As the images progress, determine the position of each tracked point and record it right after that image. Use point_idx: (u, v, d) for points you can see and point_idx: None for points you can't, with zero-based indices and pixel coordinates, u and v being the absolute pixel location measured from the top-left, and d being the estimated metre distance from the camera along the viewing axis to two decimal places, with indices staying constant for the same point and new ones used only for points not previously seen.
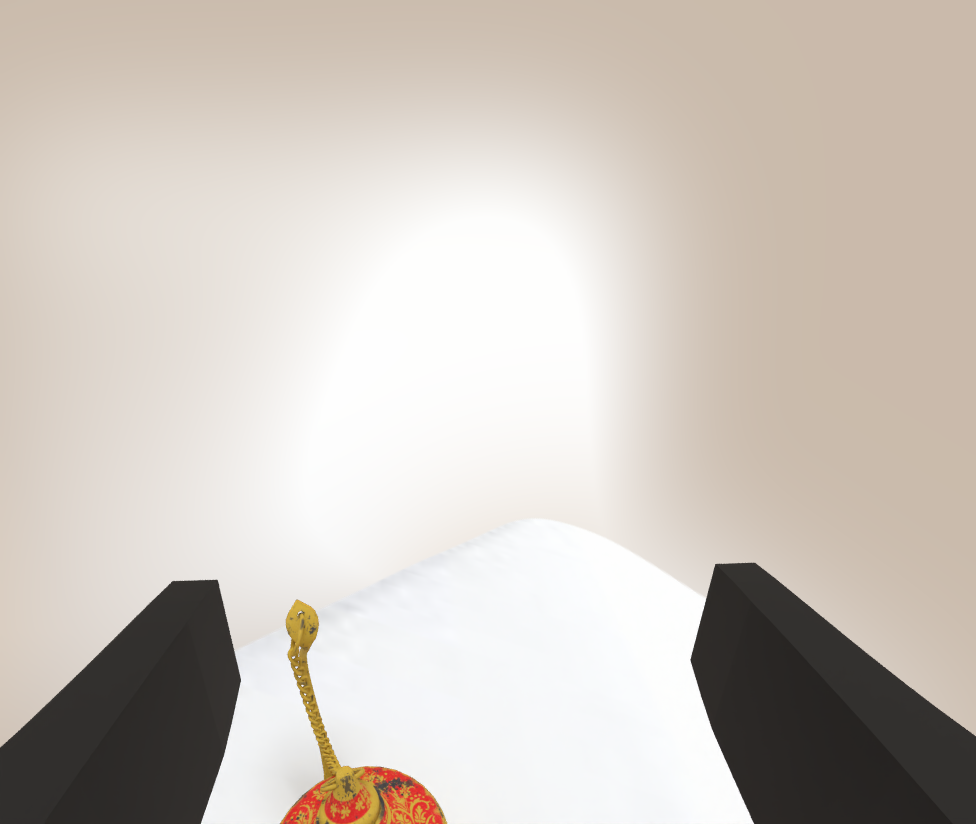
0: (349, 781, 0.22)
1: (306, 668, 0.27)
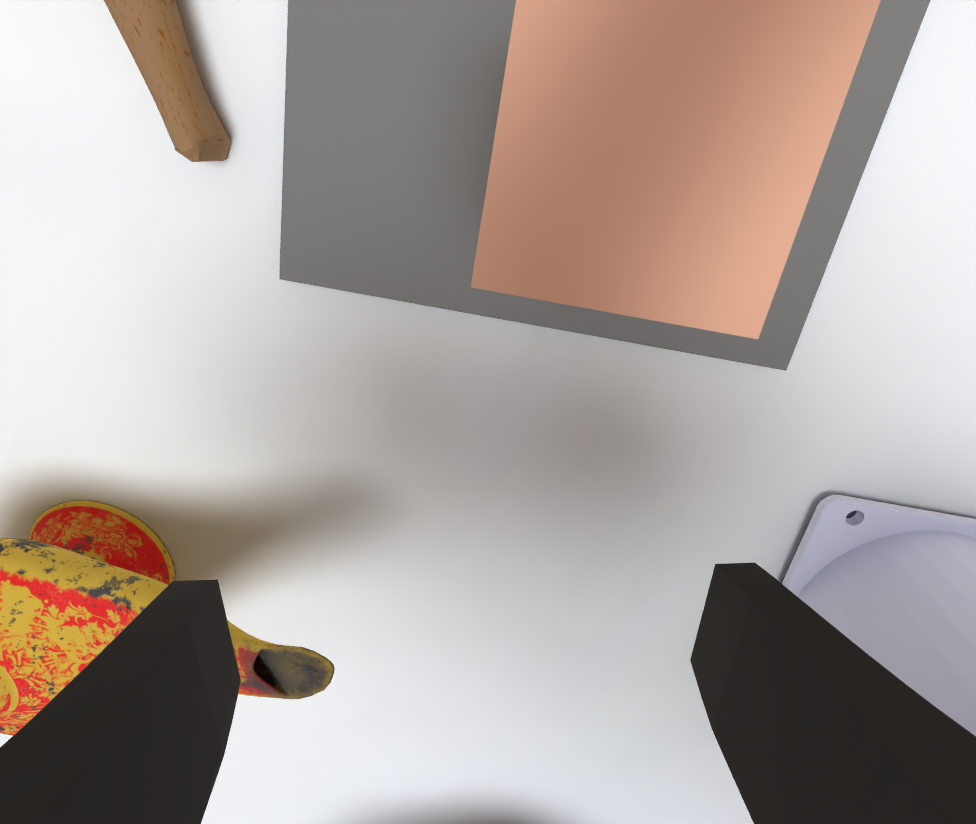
0: None
1: None
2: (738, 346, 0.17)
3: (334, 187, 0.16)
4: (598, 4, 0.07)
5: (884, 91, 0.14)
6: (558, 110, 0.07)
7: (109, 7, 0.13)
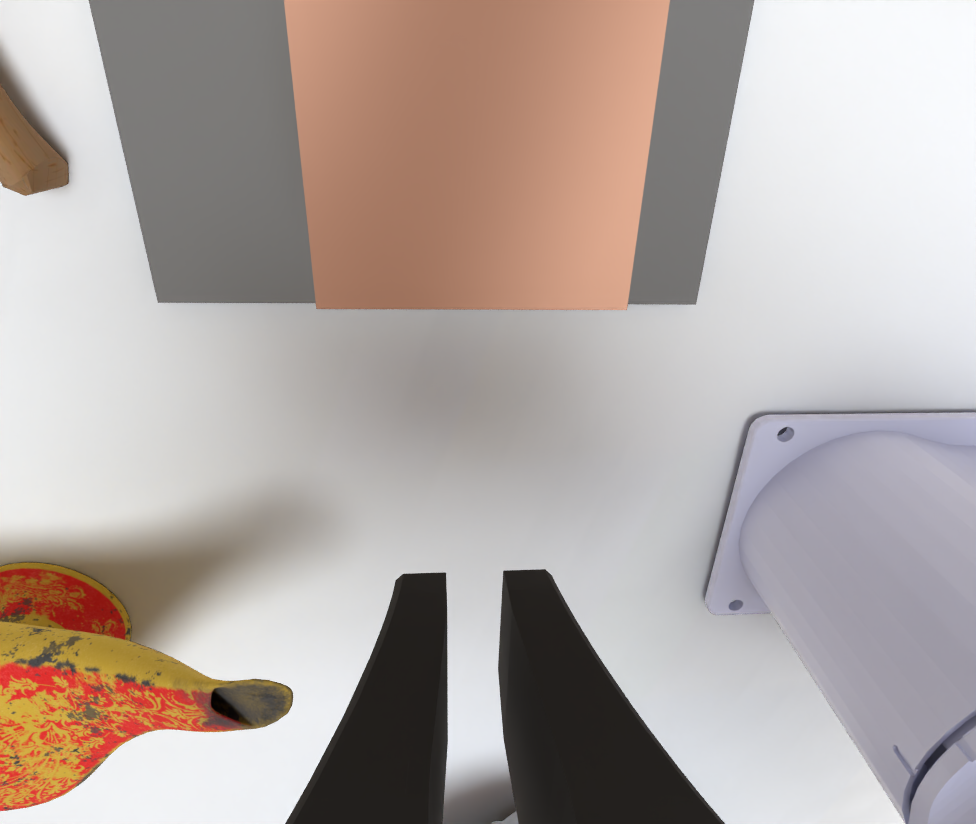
0: None
1: None
2: (644, 288, 0.16)
3: (192, 196, 0.14)
4: None
5: (743, 2, 0.13)
6: (361, 106, 0.07)
7: None
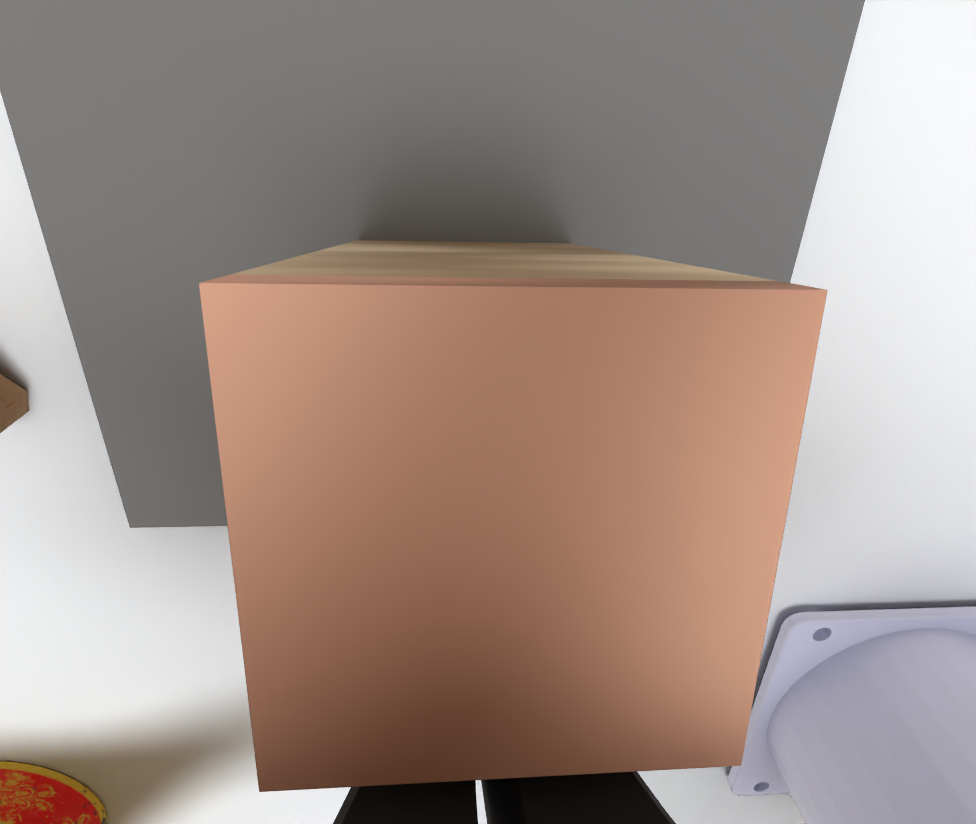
0: None
1: None
2: None
3: (167, 427, 0.13)
4: (358, 371, 0.04)
5: (792, 229, 0.12)
6: (334, 530, 0.04)
7: None
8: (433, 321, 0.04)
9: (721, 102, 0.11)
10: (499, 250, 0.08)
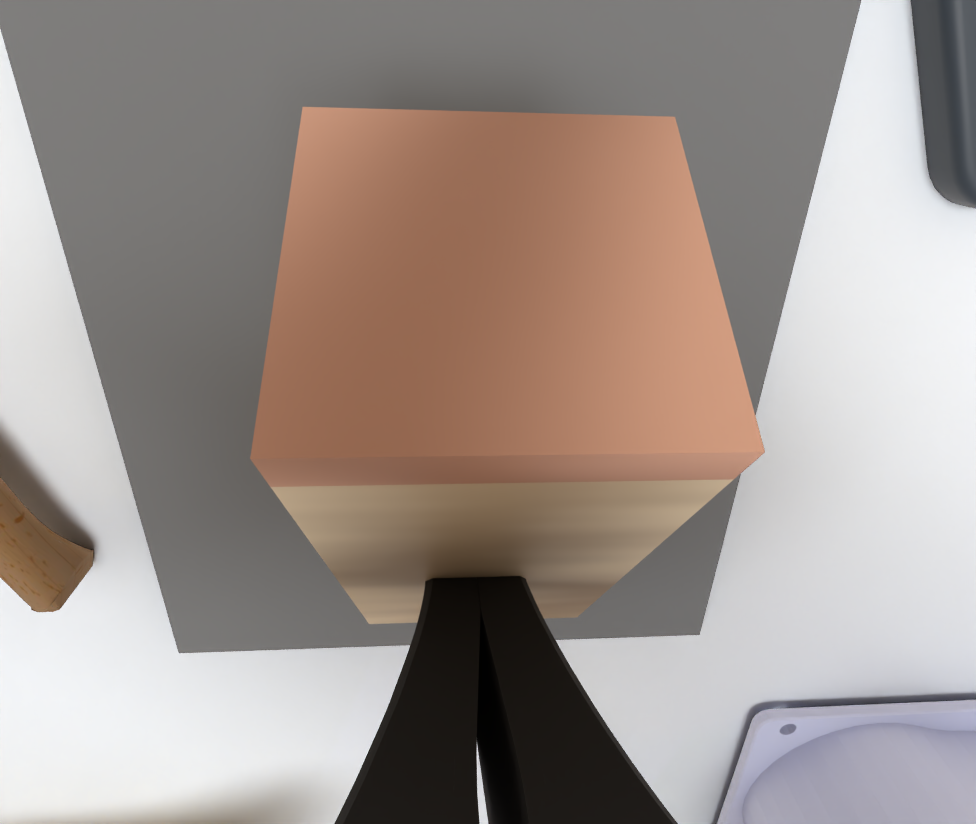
0: None
1: None
2: (649, 625, 0.17)
3: (213, 576, 0.15)
4: (390, 144, 0.06)
5: None
6: (362, 228, 0.06)
7: None
8: (437, 123, 0.06)
9: None
10: None
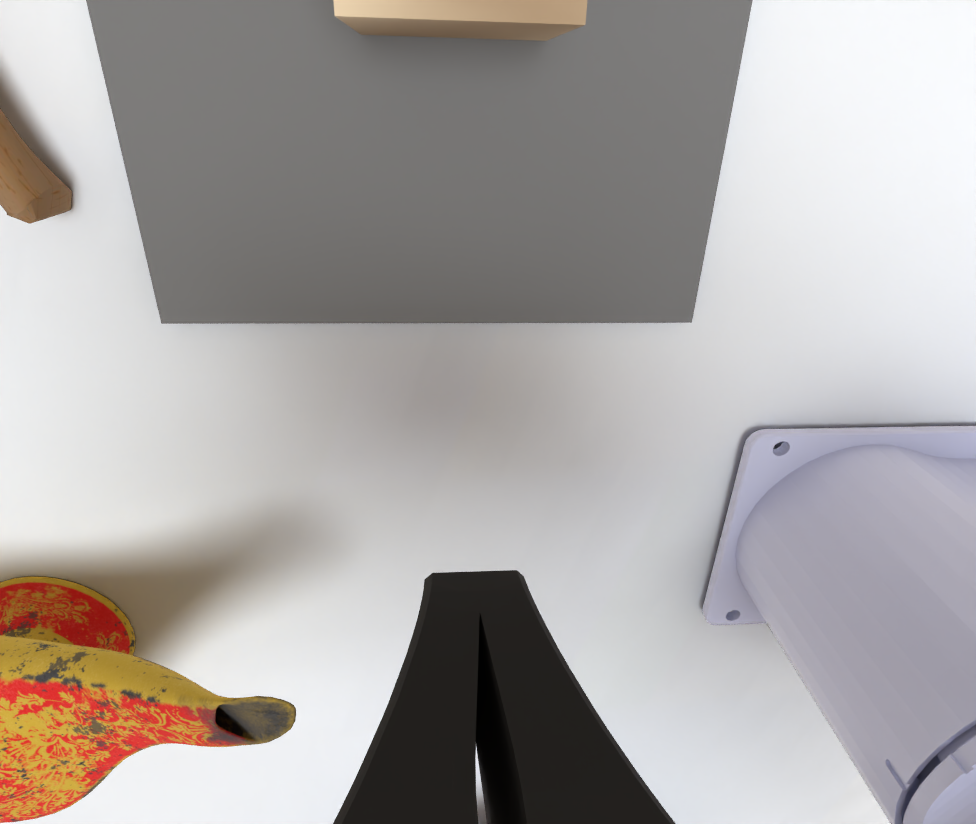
0: None
1: None
2: (641, 307, 0.17)
3: (195, 220, 0.15)
4: None
5: (737, 29, 0.14)
6: None
7: None
8: None
9: None
10: None
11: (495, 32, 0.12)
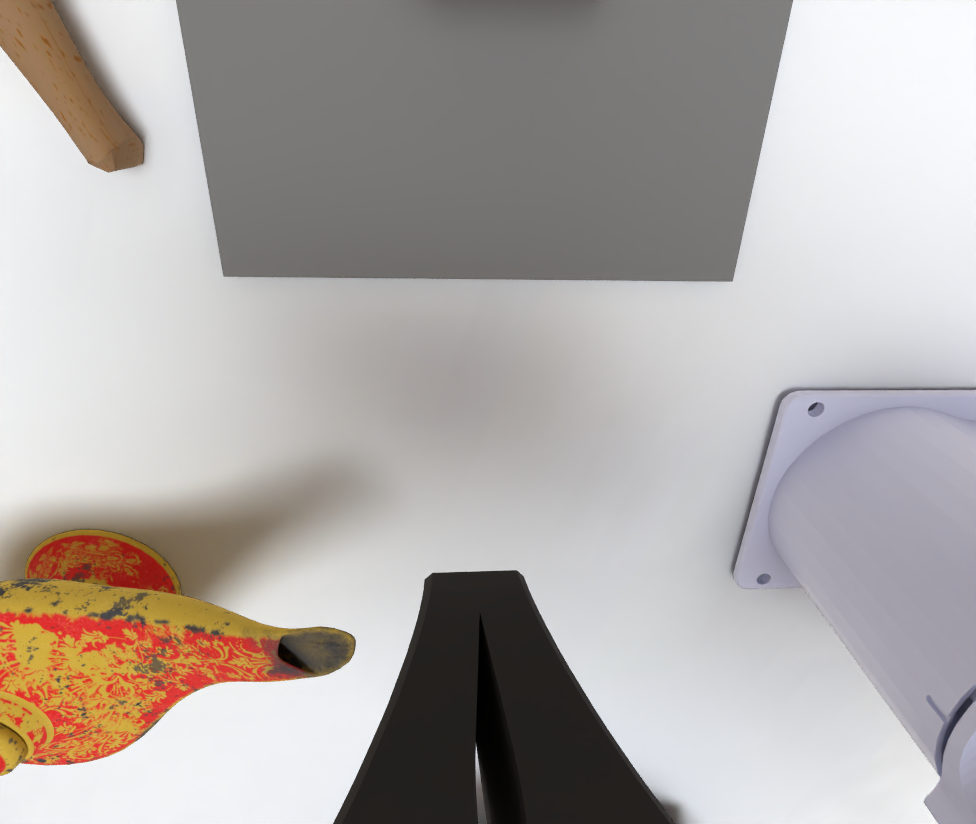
0: None
1: None
2: (684, 266, 0.17)
3: (260, 174, 0.15)
4: None
5: None
6: None
7: None
8: None
9: None
10: None
11: None
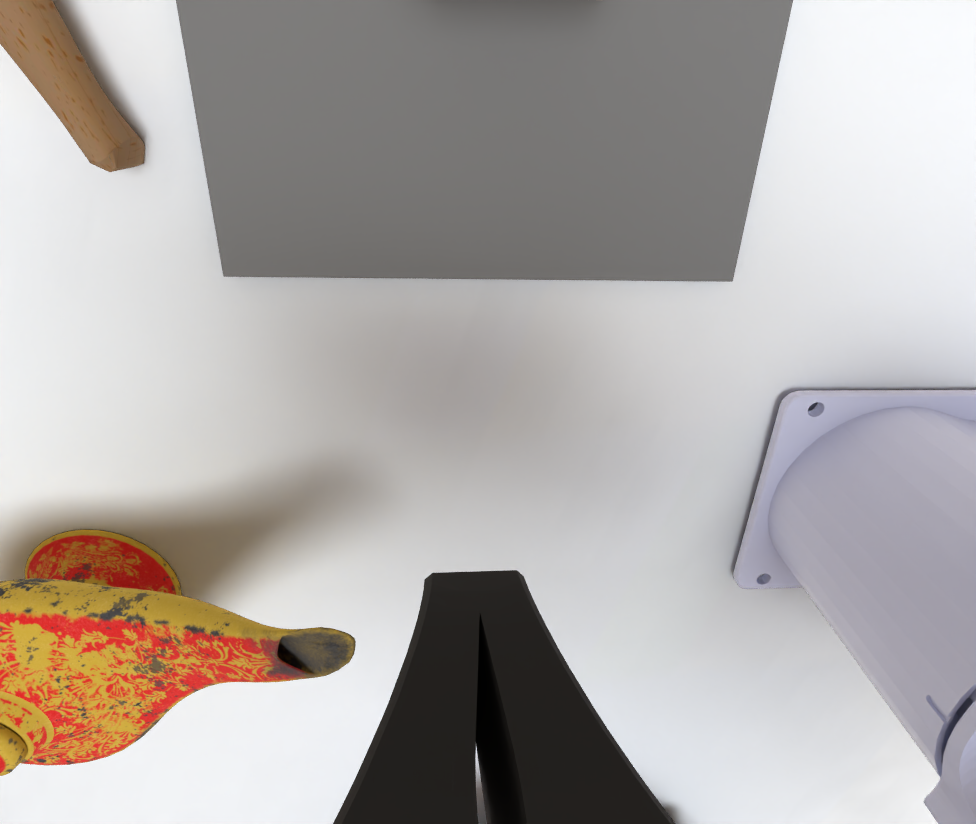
0: None
1: None
2: (684, 266, 0.17)
3: (260, 174, 0.15)
4: None
5: None
6: None
7: None
8: None
9: None
10: None
11: None
